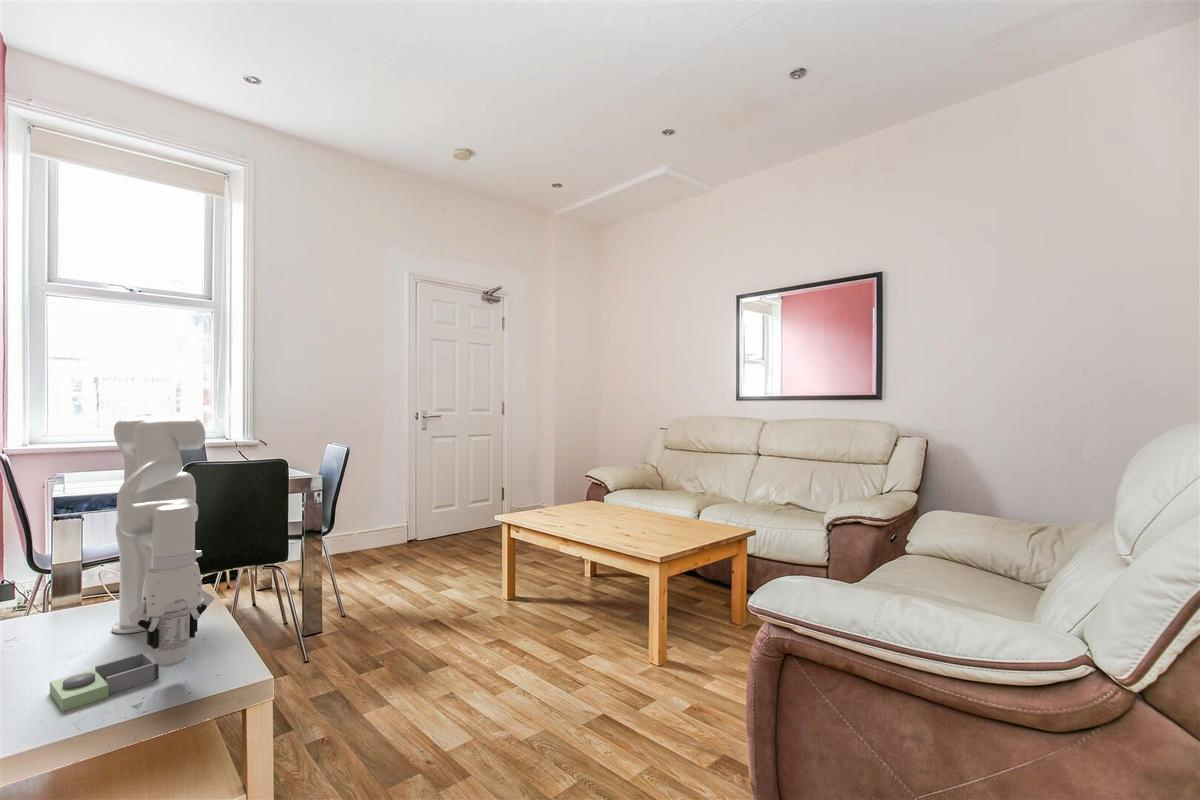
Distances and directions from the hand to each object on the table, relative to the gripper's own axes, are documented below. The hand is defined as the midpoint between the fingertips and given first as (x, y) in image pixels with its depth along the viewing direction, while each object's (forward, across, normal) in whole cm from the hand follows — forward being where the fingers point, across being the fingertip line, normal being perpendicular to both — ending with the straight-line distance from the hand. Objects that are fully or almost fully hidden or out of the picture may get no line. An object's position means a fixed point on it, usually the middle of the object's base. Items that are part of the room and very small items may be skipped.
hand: (172, 640), depth 121 cm
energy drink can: (+5, 0, 0) cm, 5 cm away
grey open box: (+9, +9, -9) cm, 16 cm away
